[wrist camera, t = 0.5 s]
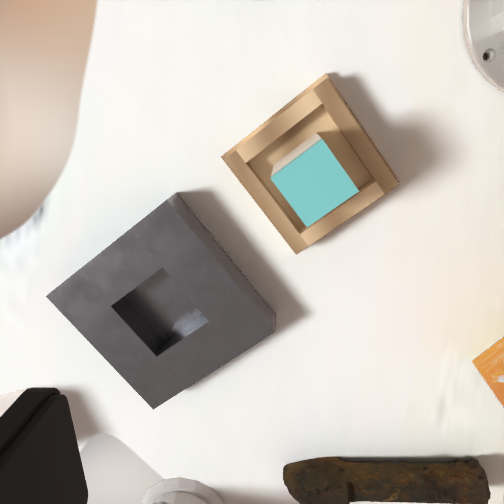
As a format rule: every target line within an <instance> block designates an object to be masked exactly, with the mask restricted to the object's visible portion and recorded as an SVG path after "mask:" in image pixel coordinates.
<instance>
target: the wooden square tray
mask: <svg viewBox="0 0 504 504" xmlns="http://www.w3.org/2000/svg"><path fill="white" fill-rule="evenodd" d="M315 133H317V134H318V135H319V136H320V137H321V138H322V139H323V141H324V142H325V143H326V145H327V146H328V148H329V149H330V151H331V152H332V153H333V155H334V156H335V158H336V159H337V160H338V162H339V163H340V165H341V166H342V168H343V169H344V170H345V172H346V173H347V175H348V176H349V178H350V179H351V180H352V182H353V183H354V185H355V186H356V188H357V189H358V190H359V192H357V193H356V194H354V195H353V196H351V197H350V198H349V199H347V200H346V201H344V202H343V203H341V204H340V205H339V206H337V207H336V208H334V209H333V210H331V211H330V212H328V213H327V214H326V215H324V216H323V217H321V218H320V219H318V220H317V221H316V222H314V223H313V224H311V225H310V226H308V227H306V225H305V224H304V223H303V221H302V220H301V219H300V217H299V216H298V215H297V213H296V212H295V211H294V209H293V208H292V207H291V205H290V204H289V203H288V201H287V200H286V199H285V197H284V196H283V195H282V193H281V192H280V191H279V189H278V188H277V187H276V185H275V184H274V183H273V181H272V180H271V179H270V178H271V174H272V170H273V166H274V164H275V163H277V162H278V161H279V160H280V159H282V158H283V157H284V156H286V155H287V154H288V153H290V152H291V151H292V150H294V149H295V148H296V147H298V146H299V145H300V144H301V143H303V142H304V141H305V140H307V139H308V138H309V137H311V136H312V135H313V134H315ZM221 158H222V159H223V160H224V162H225V163H226V164H227V165H228V167H229V168H230V169H231V171H232V172H233V173H234V175H235V176H236V177H237V178H238V180H239V181H240V182H241V184H242V185H243V186H244V188H245V189H246V190H247V191H248V193H249V194H250V195H251V197H252V198H253V199H254V201H255V202H256V203H257V204H258V206H259V207H260V208H261V210H262V211H263V212H264V214H265V215H266V216H267V217H268V219H269V220H270V221H271V223H272V224H273V225H274V227H275V228H276V229H277V230H278V232H279V233H280V234H281V236H282V237H283V238H284V240H285V241H286V242H287V243H288V245H289V246H290V247H291V249H292V250H293V251H294V253H296V255H297V254H298V253H299V252H301V251H302V250H304V249H305V248H307V247H308V246H310V245H311V244H313V243H314V242H316V241H317V240H319V239H320V238H321V237H323V236H324V235H326V234H327V233H329V232H330V231H332V230H333V229H335V228H336V227H338V226H339V225H340V224H342V223H343V222H345V221H346V220H348V219H349V218H351V217H352V216H354V215H355V214H357V213H358V212H359V211H361V210H362V209H364V208H365V207H367V206H368V205H370V204H371V203H373V202H374V201H376V200H377V199H378V198H380V197H381V196H383V195H384V194H386V193H387V192H389V191H390V190H392V189H393V188H395V187H396V186H398V185H399V184H398V183H399V180H398V179H397V177H396V176H395V174H394V173H393V171H392V170H391V169H390V167H389V166H388V164H387V163H386V161H385V160H384V158H383V157H382V155H381V154H380V152H379V151H378V149H377V148H376V146H375V145H374V143H373V142H372V140H371V139H370V137H369V136H368V134H367V133H366V131H365V130H364V129H363V127H362V126H361V124H360V123H359V121H358V120H357V118H356V117H355V115H354V114H353V112H352V111H351V109H350V108H349V106H348V105H347V103H346V102H345V100H344V99H343V97H342V96H341V94H340V93H339V91H338V90H337V88H336V87H335V86H334V84H333V83H332V81H331V80H330V78H329V77H328V75H327V74H324V75H323V76H322V77H321V78H319V79H318V80H317V81H316V82H314V83H313V84H312V85H311V86H309V87H308V88H307V89H306V90H304V91H303V92H302V93H301V94H299V95H298V96H297V97H295V98H294V99H293V100H292V101H290V102H289V103H288V104H287V105H285V106H284V107H283V108H282V109H280V110H279V111H278V112H277V113H275V114H274V115H273V116H272V117H270V118H269V119H268V120H267V121H265V122H264V123H263V124H262V125H260V126H259V127H258V128H257V129H255V130H254V131H253V132H252V133H250V134H249V135H248V136H247V137H245V138H244V139H243V140H242V141H240V142H239V143H238V144H237V145H235V146H234V147H233V148H232V149H230V150H229V151H228V152H226V153H225V154H224V155H223V156H221Z"/></svg>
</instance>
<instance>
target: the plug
mask: <svg viewBox="0 0 504 504" xmlns="http://www.w3.org/2000/svg"><path fill="white" fill-rule="evenodd" d="M270 179H271V180H272V181H273V183H274V184H275V185H276V187H277V188H278V189H279V191H280V192H281V193H282V195H283V196H284V197H285V199H286V200H287V201H288V203H289V204H290V205H291V207H292V208H293V209H294V211H295V212H296V213H297V215H298V216H299V217H300V219H301V220H302V221H303V223H304V224H305V225H306V227H308V226H310V225H311V224H313V223H314V222H316V221H317V220H318V219H320V218H321V217H323V216H324V215H326V214H327V213H328V212H330V211H331V210H333V209H334V208H336V207H337V206H339V205H340V204H341V203H343V202H344V201H346V200H347V199H349V198H350V197H351V196H353V195H354V194H356V193H357V192H359V190H358V189H357V188H356V186H355V185H354V183H353V182H352V180H351V179H350V178H349V176H348V175H347V173H346V172H345V170H344V169H343V168H342V166H341V165H340V163H339V162H338V160H337V159H336V158H335V156H334V155H333V153H332V152H331V151H330V149H329V148H328V146H327V145H326V143H325V142H324V141H323V139H322V138H321V137H320V136H319V135H318V134H317V133H315V134H313V135H312V136H311V137H309V138H308V139H307V140H305V141H304V142H303V143H301V144H300V145H299V146H298V147H296V148H295V149H294V150H292V151H291V152H290V153H288V154H287V155H286V156H284V157H283V158H282V159H280V160H279V161H278V162H277V163H275V164H274V166H273V170H272V174H271V178H270Z"/></svg>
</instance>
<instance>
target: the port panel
mask: <svg viewBox="0 0 504 504" xmlns="http://www.w3.org/2000/svg"><path fill="white" fill-rule="evenodd" d="M46 297H47V298H48V299H49V300H50V301H51V302H52V303H53V304H54V305H55V306H56V307H57V308H58V310H59V311H60V312H61V313H62V314H63V315H64V316H65V317H66V318H67V319H68V320H69V321H70V322H71V323H72V324H73V325H74V326H75V327H76V328H77V330H78V331H79V332H80V333H81V334H82V335H83V336H84V337H85V338H86V339H87V340H88V341H89V342H90V343H91V344H92V345H93V346H94V347H95V348H96V350H97V351H98V352H99V353H100V354H101V355H102V356H103V357H104V358H105V359H106V360H107V361H108V362H109V363H110V364H111V365H112V366H113V367H114V368H115V370H116V371H117V372H118V373H119V374H120V375H121V376H122V377H123V378H124V379H125V380H126V381H127V382H128V383H129V384H130V385H131V386H132V387H133V389H134V390H135V391H136V392H137V393H138V394H139V395H140V396H141V397H142V398H143V399H144V400H145V401H146V402H147V403H148V404H149V405H150V406H151V407H152V409H155V408H156V407H158V406H159V405H161V404H162V403H164V402H166V401H167V400H169V399H170V398H172V397H173V396H175V395H177V394H178V393H180V392H181V391H183V390H184V389H186V388H188V387H189V386H191V385H192V384H194V383H195V382H197V381H199V380H200V379H202V378H203V377H205V376H206V375H208V374H210V373H211V372H213V371H214V370H216V369H217V368H219V367H220V366H222V365H224V364H225V363H227V362H228V361H230V360H231V359H233V358H235V357H236V356H238V355H239V354H241V353H242V352H244V351H246V350H247V349H249V348H250V347H252V346H253V345H255V344H257V343H258V342H260V341H261V340H263V339H264V338H266V337H268V336H269V335H271V334H272V333H274V332H275V327H276V314H275V313H274V312H273V311H272V310H271V308H270V307H269V306H268V305H267V303H266V302H265V301H264V300H263V298H262V297H261V296H260V295H259V294H258V292H257V291H256V290H255V289H254V287H253V286H252V285H251V284H250V282H249V281H248V280H247V279H246V278H245V276H244V275H243V274H242V273H241V271H240V270H239V269H238V268H237V266H236V265H235V264H234V263H233V262H232V260H231V259H230V258H229V257H228V255H227V254H226V253H225V252H224V250H223V249H222V248H221V247H220V246H219V244H218V243H217V242H216V241H215V239H214V238H213V237H212V236H211V234H210V233H209V232H208V231H207V230H206V228H205V227H204V226H203V225H202V223H201V222H200V221H199V220H198V218H197V217H196V216H195V215H194V214H193V212H192V211H191V210H190V209H189V207H188V206H187V205H186V204H185V202H184V201H183V200H182V199H181V198H180V196H179V195H178V194H177V193H175V194H174V195H173V196H171V197H170V198H169V199H167V200H166V201H165V202H164V203H162V204H161V205H160V206H159V207H157V208H156V209H155V210H154V211H152V212H151V213H150V214H149V215H147V216H146V217H145V218H144V219H142V220H141V221H140V222H139V223H137V224H136V225H135V226H133V227H132V228H131V229H130V230H128V231H127V232H126V233H125V234H123V235H122V236H121V237H120V238H118V239H117V240H116V241H115V242H113V243H112V244H111V245H110V246H108V247H107V248H106V249H105V250H103V251H102V252H101V253H100V254H98V255H97V256H96V257H95V258H93V259H92V260H91V261H90V262H88V263H87V264H86V265H85V266H83V267H82V268H81V269H80V270H78V271H77V272H76V273H75V274H73V275H72V276H71V277H70V278H68V279H67V280H66V281H64V282H63V283H62V284H61V285H59V286H58V287H57V288H56V289H54V290H53V291H52V292H51V293H49V294H48V295H47V296H46Z"/></svg>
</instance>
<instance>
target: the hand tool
mask: <svg viewBox="0 0 504 504" xmlns="http://www.w3.org/2000/svg"><path fill="white" fill-rule="evenodd" d="M283 480H284V484H285V485H286V486H287V488H288V491H289V493H290V494H291V495H292V497H293V498H294V499H295V500H297V501H298V502H299V503H300V504H349V503H350V502H357V501H371V502H411V503H412V502H413V503H414V502H417V503H432V504H433V503H450V504H488V500H489V499H490V490H489V486H488V480H487V476H486V473H485V471H484V469H483V468H482V467H481V466H480V464H479V462H478V461H477V460H476V459H474V458H473V459H472V460H471V461H469V462H466V463H464V462H463V461H461V460H459V459H456V460H455V461H454V462H453V463H406V462H404V461H402V462H399V463H389V462H383V463H370V462H345V461H342V459H341V458H339V457H322V458H315V459H309V460H304V461H300V462H295V463H292V464H289V465H286V466H284V468H283Z"/></svg>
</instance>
